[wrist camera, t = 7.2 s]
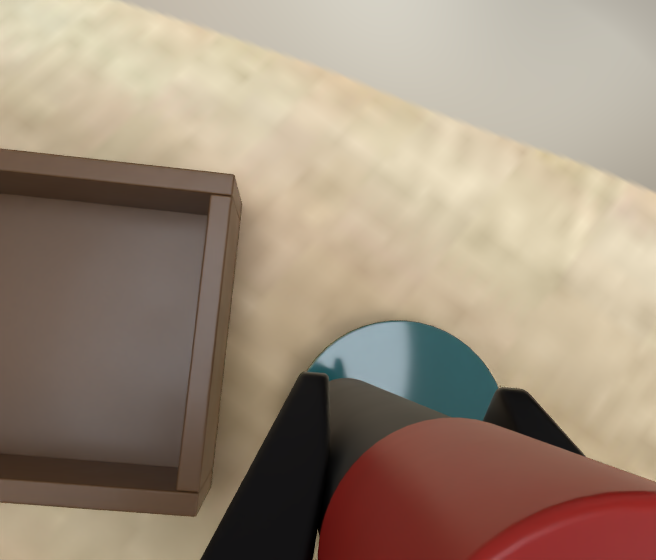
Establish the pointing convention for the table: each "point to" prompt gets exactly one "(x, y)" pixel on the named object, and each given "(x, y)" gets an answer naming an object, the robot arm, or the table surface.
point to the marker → (468, 490)
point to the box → (112, 331)
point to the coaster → (413, 366)
